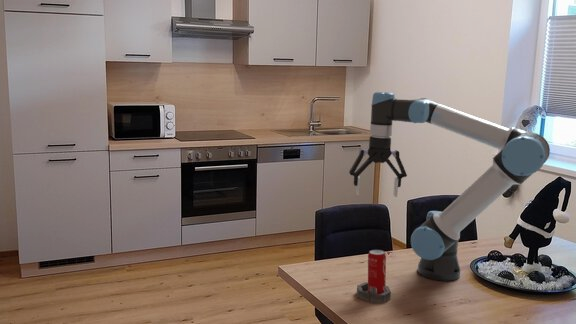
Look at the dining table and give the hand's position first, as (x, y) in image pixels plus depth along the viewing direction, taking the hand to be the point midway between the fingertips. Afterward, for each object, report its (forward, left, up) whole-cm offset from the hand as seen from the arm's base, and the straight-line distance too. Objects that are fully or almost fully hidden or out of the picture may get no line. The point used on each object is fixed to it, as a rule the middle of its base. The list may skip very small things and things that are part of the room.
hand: (376, 195), depth 201 cm
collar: (+3, +22, -29) cm, 36 cm away
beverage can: (+2, +22, -29) cm, 36 cm away
